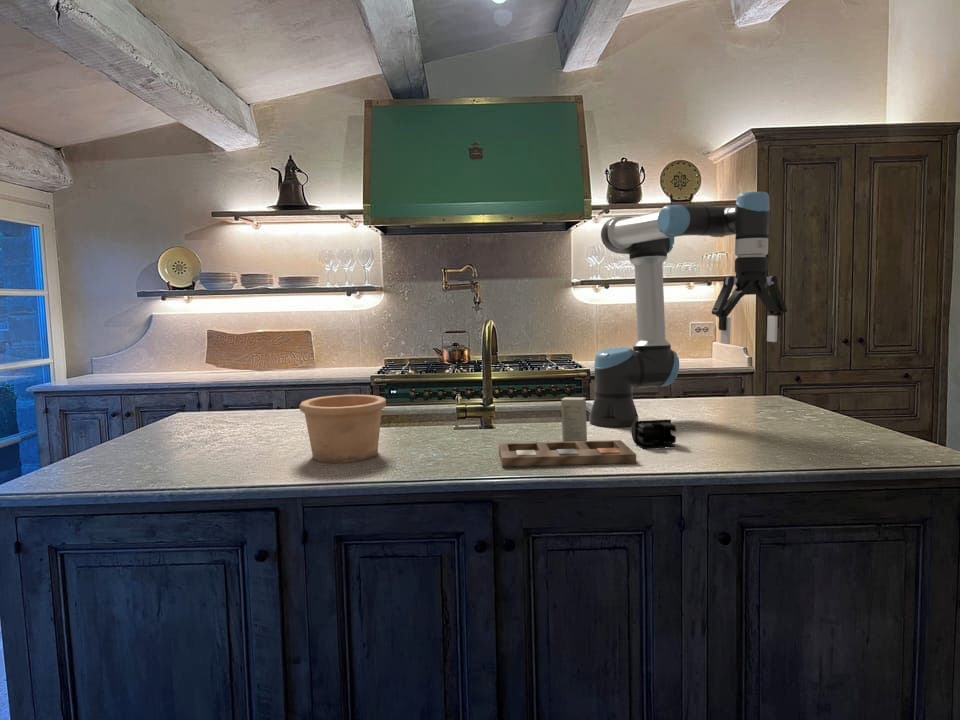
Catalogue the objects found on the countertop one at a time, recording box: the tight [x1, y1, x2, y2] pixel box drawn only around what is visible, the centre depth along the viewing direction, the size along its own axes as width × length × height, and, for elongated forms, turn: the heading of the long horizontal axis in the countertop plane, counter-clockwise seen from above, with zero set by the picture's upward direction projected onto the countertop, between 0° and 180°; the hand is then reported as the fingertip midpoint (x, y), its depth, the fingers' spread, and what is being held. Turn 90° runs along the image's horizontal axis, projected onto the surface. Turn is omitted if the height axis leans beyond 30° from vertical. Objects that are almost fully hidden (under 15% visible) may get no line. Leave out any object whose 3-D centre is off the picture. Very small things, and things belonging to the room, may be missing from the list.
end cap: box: [631, 419, 677, 450], centre depth 171 cm, size 10×7×7 cm
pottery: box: [299, 394, 387, 464], centre depth 167 cm, size 22×22×14 cm
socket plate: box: [498, 439, 637, 469], centre depth 160 cm, size 32×15×3 cm, turn 92°
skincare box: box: [560, 396, 588, 442], centre depth 177 cm, size 6×4×12 cm
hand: (748, 342), depth 160 cm, fingers open, 13 cm apart
